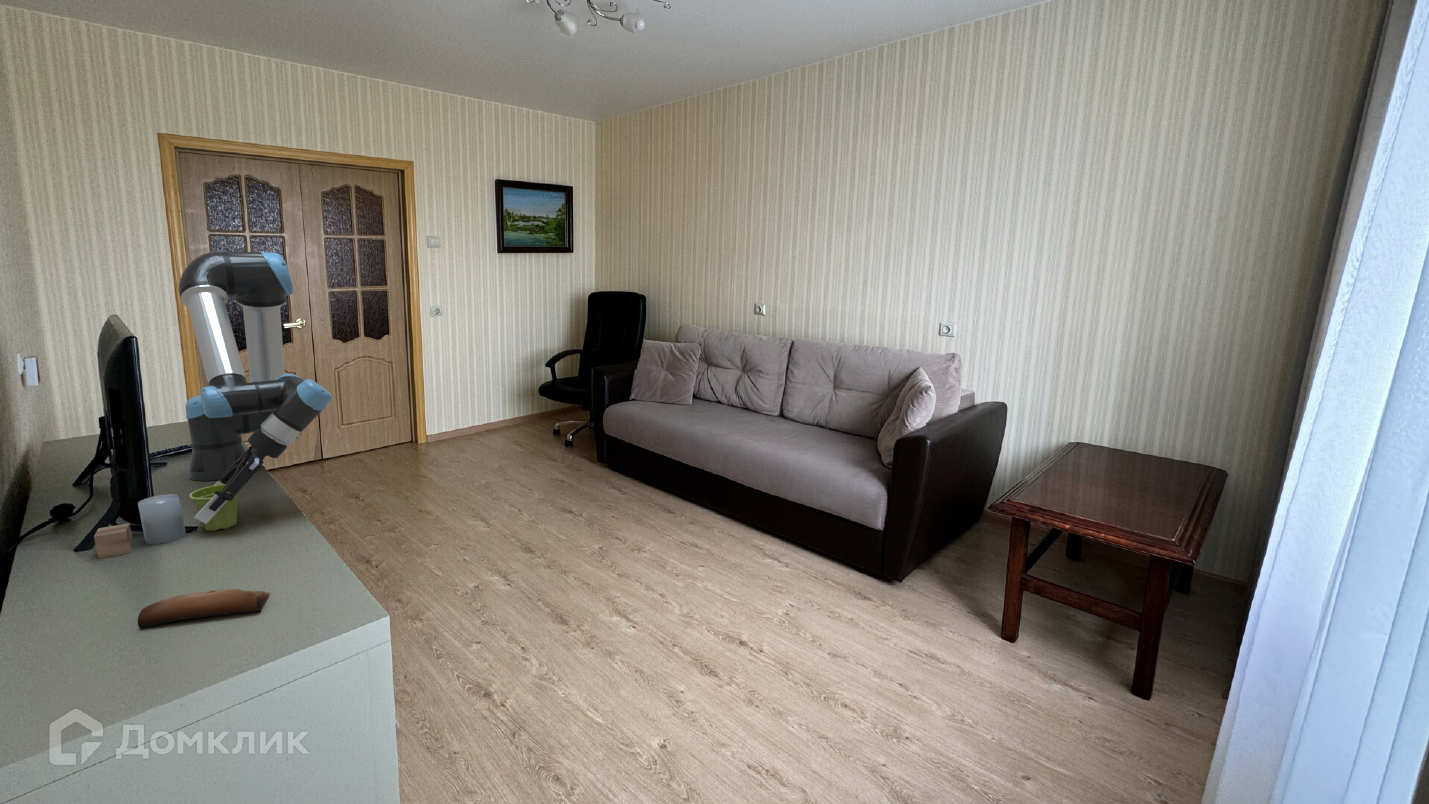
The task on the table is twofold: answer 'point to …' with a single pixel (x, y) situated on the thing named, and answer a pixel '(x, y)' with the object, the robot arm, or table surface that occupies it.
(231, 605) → the sunglasses case
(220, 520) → the plant pot
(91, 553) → the table surface
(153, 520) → the slate jar
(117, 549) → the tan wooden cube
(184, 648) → the table surface
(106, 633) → the table surface
